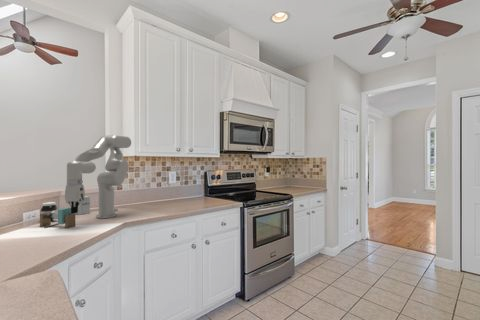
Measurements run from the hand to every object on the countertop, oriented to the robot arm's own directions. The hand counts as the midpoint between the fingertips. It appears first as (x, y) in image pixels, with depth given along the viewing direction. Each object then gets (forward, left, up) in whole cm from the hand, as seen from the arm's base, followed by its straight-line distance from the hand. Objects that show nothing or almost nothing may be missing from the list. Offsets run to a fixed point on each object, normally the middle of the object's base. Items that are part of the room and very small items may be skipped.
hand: (74, 212), depth 140 cm
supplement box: (-32, -26, -9) cm, 42 cm away
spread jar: (-11, -29, -9) cm, 32 cm away
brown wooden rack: (0, -12, -9) cm, 15 cm away
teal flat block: (0, -6, -6) cm, 9 cm away
